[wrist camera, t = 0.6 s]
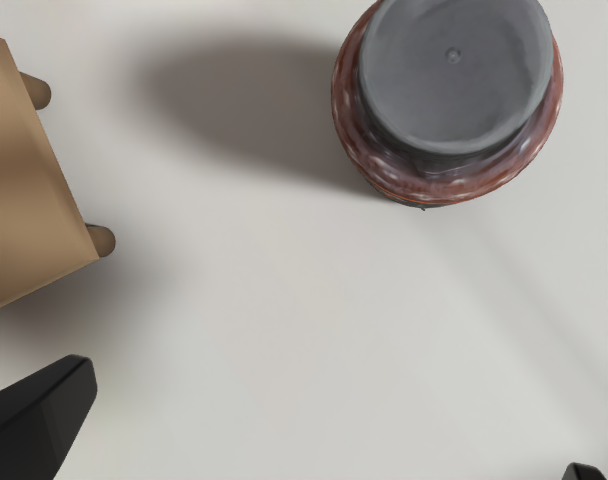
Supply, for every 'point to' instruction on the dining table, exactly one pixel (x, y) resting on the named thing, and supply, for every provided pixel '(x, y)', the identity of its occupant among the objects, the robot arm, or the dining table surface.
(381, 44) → the supplement bottle
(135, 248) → the dining table surface
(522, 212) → the dining table surface
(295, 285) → the dining table surface
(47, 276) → the stool
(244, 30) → the dining table surface
